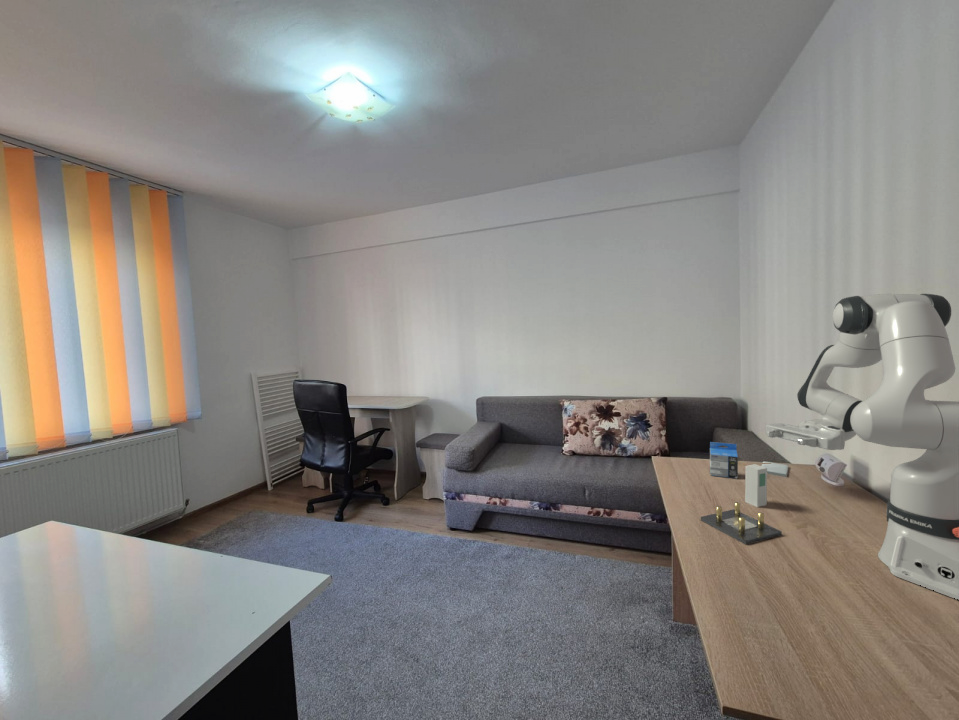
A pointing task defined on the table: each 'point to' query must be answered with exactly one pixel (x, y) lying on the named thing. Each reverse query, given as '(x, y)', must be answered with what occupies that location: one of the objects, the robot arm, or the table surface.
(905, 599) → the table surface
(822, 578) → the table surface
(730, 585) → the table surface
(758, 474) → the block
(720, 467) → the label tape box
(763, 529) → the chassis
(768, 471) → the hard drive
